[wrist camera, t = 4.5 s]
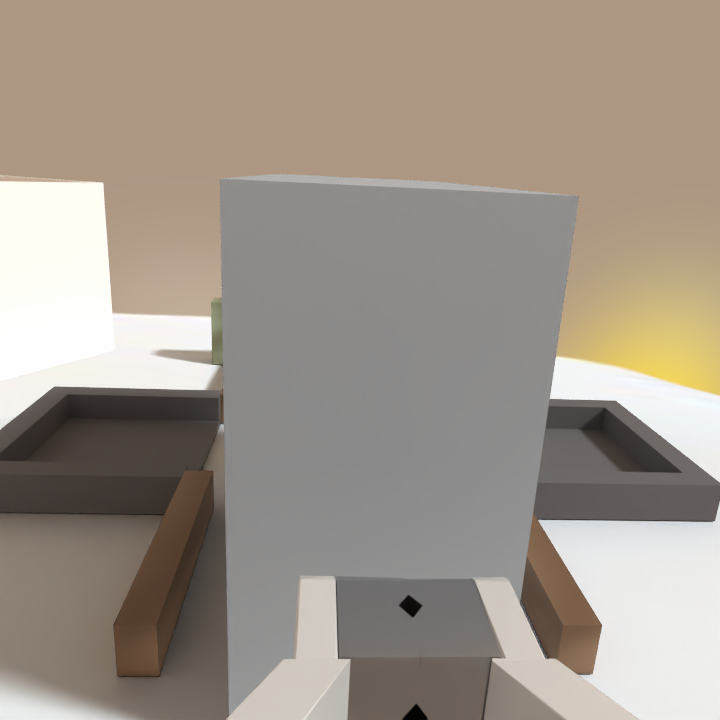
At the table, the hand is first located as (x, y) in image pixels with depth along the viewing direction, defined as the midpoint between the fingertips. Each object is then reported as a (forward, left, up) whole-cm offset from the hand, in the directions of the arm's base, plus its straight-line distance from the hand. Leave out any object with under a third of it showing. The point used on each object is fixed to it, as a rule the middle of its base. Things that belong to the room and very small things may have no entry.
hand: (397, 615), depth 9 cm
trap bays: (0, +17, -6) cm, 18 cm away
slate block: (0, +10, -6) cm, 12 cm away
